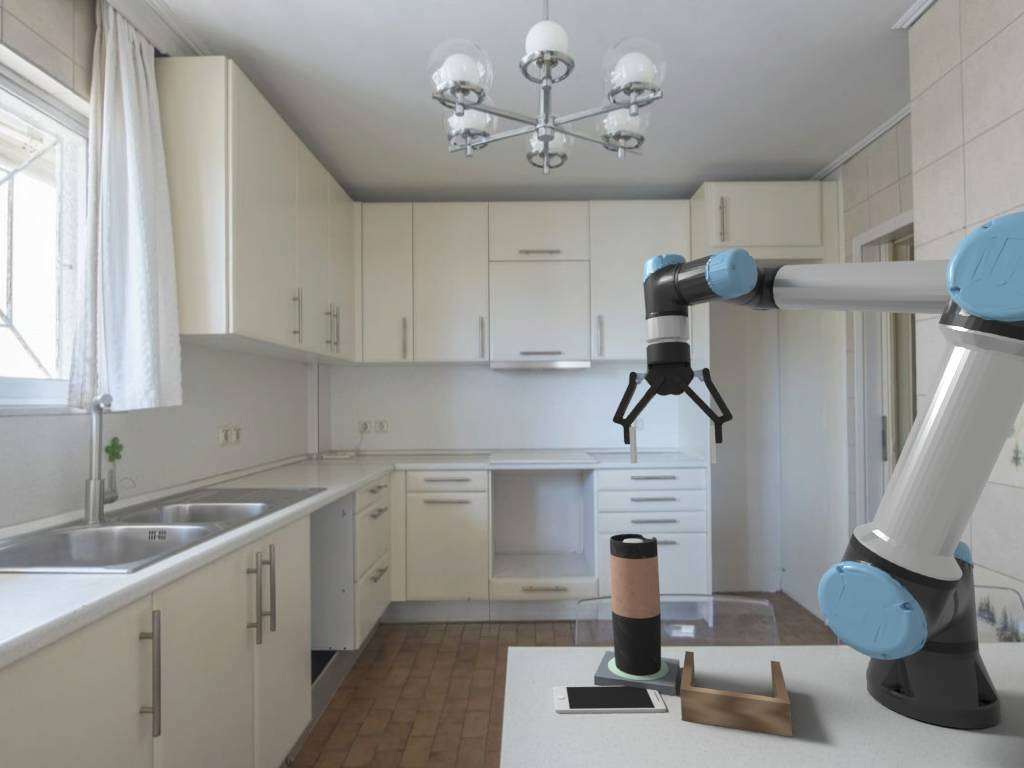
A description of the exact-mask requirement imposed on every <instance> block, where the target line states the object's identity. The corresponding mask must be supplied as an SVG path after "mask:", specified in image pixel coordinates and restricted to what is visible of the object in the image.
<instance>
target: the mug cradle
mask: <svg viewBox="0 0 1024 768" xmlns="http://www.w3.org/2000/svg"><path fill="white" fill-rule="evenodd" d="M684 653H685V654H684V661H683V668H682V675H681V683H680V690H679V691H680V692H679V693H680V710H681V711H680V712H681V713H680V715H681V720H682V721H686V722H687V721H688V722H693V723H699V724H707V725H713V726H718V727H719V726H720V727H726V728H732V729H737V730H739V729H740V730H745V731H753V732H758V733H765V734H771V735H778V736H785V737H789V738H790V737H791V738H793V728H792V712H791V711H792V710H791V702H790V697H789V693H788V689H787V685H786V681H785V678H784V674H783V670H782V666H781V663H780V661H775V660H770V670H771V671H770V672H771V689H772V693H773V697H771V696H766V695H758V694H757V695H756V694H749V693H743V692H742V693H741V692H734V691H727V690H720V689H719V690H718V689H713V688H704V687H696V686H695V682H696V675H695V674H696V673H695V672H696V671H695V652H694V651H687V650H686V651H685V652H684Z"/></svg>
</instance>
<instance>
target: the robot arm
mask: <svg viewBox="0 0 1024 768" xmlns="http://www.w3.org/2000/svg"><path fill="white" fill-rule="evenodd" d="M642 287H643V294H644V295H643V297H644V298H643V299H644V309H645V318H644V319H645V320H644V321H645V322H644V323H645V325H644V326H645V342H646V343H648V344H649V345H647V346H646V366H647V367H646V372H636V371H631V372H630V373H629V377H628V385H627V386H626V389H625V391H624V394H623V396H622V398H621V400H620V401H619V404H618V406H617V409H616V412H615V413H614V416H613V417H612V422H613V423H614V424H617V425H620V426H622V428H623V443H624V445H629V451H630V452H629V453H630V457H629V458H630V464H637V463H638V453H637V451H638V450H637V430H636V428H637V426H632V424H633V423H634V422H635V420H636V419H637V418H638V417H639V416H640V415H641V413H642V412H643V411H644V410H645V408H646V407H647V406H648V404H649V403H650V402H651V400H652V399H654V398H655V396H656V395H658V396H661V397H664V396H665V397H666V396H669V395H673V396H680V395H683V394H684V393H685V394H686V395H687V396H688V397H689V398H690V399H691V400H692V401H693V403H694V404H696V405H697V406H698V408H700V410H702V412H703V413H704V414H705V415H706V416H707V417H709V419H710V420H711V421H712V422H713V423H714V424H710V425H709V432H710V433H709V435H710V436H709V437H710V453H711V454H710V455H711V456H710V457H711V459H710V460H711V464H712V465H714V464H715V465H716V464H717V449H716V447H717V446H716V444H723V425H724V423H727V422H730V421H732V420H733V418H734V417H733V414H732V413H731V411H730V409H729V408H728V405H727V404H726V403H725V401H724V399H723V397H722V395H721V394H720V392H719V391H718V389H717V387H716V386H715V384H714V383H713V381H712V377H711V371H710V368H709V367H703V368H702V369H697V370H696V369H695V370H693V368H692V362H691V360H692V359H691V345H690V344H689V342H687V341H689V340H690V339H691V338H690V318H689V317H690V316H689V307H692V306H696V305H701V304H702V305H703V304H706V303H713V302H718V303H723V304H727V305H732V306H738V307H744V308H749V309H751V310H753V311H763V312H766V311H769V312H770V311H774V310H798V311H799V310H801V311H804V310H805V311H826V312H827V311H831V312H832V311H833V312H860V313H861V312H862V313H863V312H864V313H890V314H891V313H892V314H894V313H896V314H924V315H925V314H926V315H928V314H929V315H941V317H940V319H939V321H938V324H937V327H938V329H939V331H940V333H941V334H942V336H943V337H944V339H945V343H946V345H945V347H944V349H943V352H942V354H941V357H940V360H939V361H938V364H937V366H936V368H935V372H934V374H933V376H932V378H931V381H930V383H929V385H928V388H927V390H926V392H925V394H924V397H923V400H922V401H921V404H920V407H919V410H918V412H917V414H916V416H915V419H914V422H913V424H912V426H911V429H910V431H909V433H908V436H907V439H906V440H905V443H904V446H903V448H902V451H901V453H900V455H899V457H898V460H897V462H896V465H895V467H894V469H893V472H892V475H891V476H890V478H889V481H888V484H887V486H886V489H885V491H884V493H883V496H882V498H881V500H880V503H879V506H878V508H877V511H875V512H876V513H875V515H874V518H873V520H872V521H870V522H868V523H864V524H860V525H857V526H856V527H855V528H854V530H853V532H852V534H851V537H850V539H849V541H848V544H847V546H846V548H845V551H844V553H843V556H842V559H841V561H840V562H837V563H834V564H833V565H831V567H830V568H828V569H827V571H826V572H825V573H823V575H822V577H821V579H820V581H819V584H818V588H817V601H818V604H819V605H818V606H819V608H820V611H821V613H822V615H823V616H824V619H825V621H826V623H827V626H828V627H829V628H830V630H831V631H833V633H834V634H835V635H836V636H837V637H838V638H839V639H840V640H841V641H843V643H844V644H846V645H847V646H848V647H850V648H851V649H853V650H854V651H856V652H858V653H860V654H862V655H863V656H867V657H869V658H870V659H869V662H868V665H867V668H866V672H865V673H866V674H865V678H866V689H867V692H868V694H869V695H870V696H871V697H872V698H873V699H874V700H875V701H877V702H878V703H880V704H881V705H883V706H884V707H886V708H888V709H889V710H892V711H894V712H896V713H899V714H901V715H903V716H906V717H908V718H911V719H915V720H917V721H921V722H925V723H928V724H933V725H937V726H944V727H949V728H959V729H983V728H984V729H985V728H989V727H993V726H995V725H997V724H998V723H1000V721H1002V706H1001V700H1000V696H999V694H998V692H997V690H996V686H995V684H994V682H993V680H992V678H991V676H990V674H989V672H988V669H987V667H986V665H985V662H984V661H983V658H982V656H981V653H980V646H979V633H978V631H979V630H978V618H977V616H978V615H977V608H976V607H977V606H976V594H975V593H976V592H975V579H974V578H975V577H974V569H975V564H974V562H973V558H972V553H971V548H970V547H969V545H968V544H967V543H965V541H962V537H963V535H964V532H965V530H966V528H967V527H968V524H969V522H970V519H971V518H972V514H973V513H974V511H975V508H977V507H976V506H977V505H978V502H979V499H980V498H981V495H982V493H983V491H984V489H985V487H986V484H987V483H988V481H989V478H990V476H991V475H992V472H993V470H994V468H995V465H996V463H997V461H998V459H999V457H1000V455H1001V452H1002V451H1003V449H1004V447H1005V445H1006V441H1007V440H1008V437H1009V435H1010V433H1011V431H1012V428H1013V427H1014V424H1015V422H1016V420H1017V418H1018V416H1019V413H1020V412H1021V409H1022V407H1023V404H1024V210H1023V211H1017V212H1010V213H1008V214H1005V215H1001V216H999V217H996V218H993V219H991V220H990V221H987V222H985V223H984V224H982V225H980V226H978V227H976V228H975V229H974V230H972V231H971V232H970V233H969V234H967V235H966V236H965V237H964V238H963V239H962V240H961V241H960V242H959V244H958V245H957V247H956V248H955V249H954V251H953V252H952V254H951V255H950V258H949V259H924V260H923V259H921V260H898V261H895V260H894V261H893V260H892V261H869V262H868V261H865V262H863V261H862V262H843V263H842V262H838V263H813V264H812V263H811V264H810V263H808V264H786V265H785V264H784V265H776V264H775V265H758V264H756V261H755V259H754V257H753V256H752V255H750V253H749V252H748V250H746V249H743V248H733V249H729V250H721V251H718V252H715V253H713V254H710V255H706V256H704V257H699V258H697V259H693V260H689V261H687V260H686V258H685V257H684V256H683V255H682V254H681V255H680V254H676V253H665V254H663V255H655V256H653V257H650V258H649V259H647V260H646V261H645V263H644V266H643V280H642ZM695 377H696V378H698V381H700V382H701V383H702V382H704V385H705V387H706V388H707V391H708V392H709V393H710V395H711V396H712V398H713V400H714V402H715V403H716V406H717V407H718V408H719V410H720V412H721V414H722V415H720V416H718V414H717V413H715V411H714V410H713V409H712V408H710V406H709V405H708V404H707V403H706V401H704V400H703V399H702V398H701V397H700V396H699V395H698V394H697V393H696V392H695V391H694V390H693V389H692V388H691V387H690V384H691V383H692V381H693V379H694V378H695ZM643 380H645V381H646V383H648V385H649V388H648V389H647V390H646V391H645V393H644V395H643V396H642V397H641V398H640V400H639V401H638V402H637V403H636V405H635V406H634V407H633V408H632V410H631V411H630V412H629V413H628V414H627V416H626V417H625V418H624V416H625V414H626V412H627V409H628V407H629V405H630V403H631V401H632V399H633V396H634V394H635V392H636V391H637V390H636V389H637V388H638V385H640V384H641V383H642V381H643Z"/></svg>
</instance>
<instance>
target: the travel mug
mask: <svg viewBox="0 0 1024 768" xmlns="http://www.w3.org/2000/svg"><path fill="white" fill-rule="evenodd" d="M609 553H610V554H609V555H610V559H609V561H610V593H611V595H610V596H611V597H610V600H611V602H610V603H611V617H612V619H611V620H612V621H611V622H612V637H613V650H614V651H613V652H614V653H615V664H616V667H617V668H618V669H619V670H620V671H622V672H624V673H627V674H631V675H637V676H646V675H652V674H655V673H657V672H659V671H660V669H661V657H662V627H661V626H662V625H661V620H662V618H661V617H662V615H661V611H662V610H661V595H660V594H661V593H660V576H659V575H660V574H659V555H658V553H659V552H658V540H657V538H656V537H655V536H653V537H652V538H647V537H644V536H643V535H642V534H640V533H621V534H615V535H612V536H610V538H609Z"/></svg>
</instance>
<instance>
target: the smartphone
mask: <svg viewBox="0 0 1024 768" xmlns="http://www.w3.org/2000/svg"><path fill="white" fill-rule="evenodd" d="M552 692H553V693H552V694H553V702H554V703H553V704H554V713H555V714H620V713H621V714H623V713H624V714H627V713H629V714H630V713H631V714H632V713H665V712H667V707H666V705H665V702H664V700H663V699H662V697H661V695H660V693H658V691H657V690H650V689H643V688H636V687H629V686H604V685H586V686H585V685H581V686H579V685H577V686H575V685H573V686H569V685H568V686H566V685H565V686H564V685H563V686H553V687H552Z"/></svg>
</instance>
